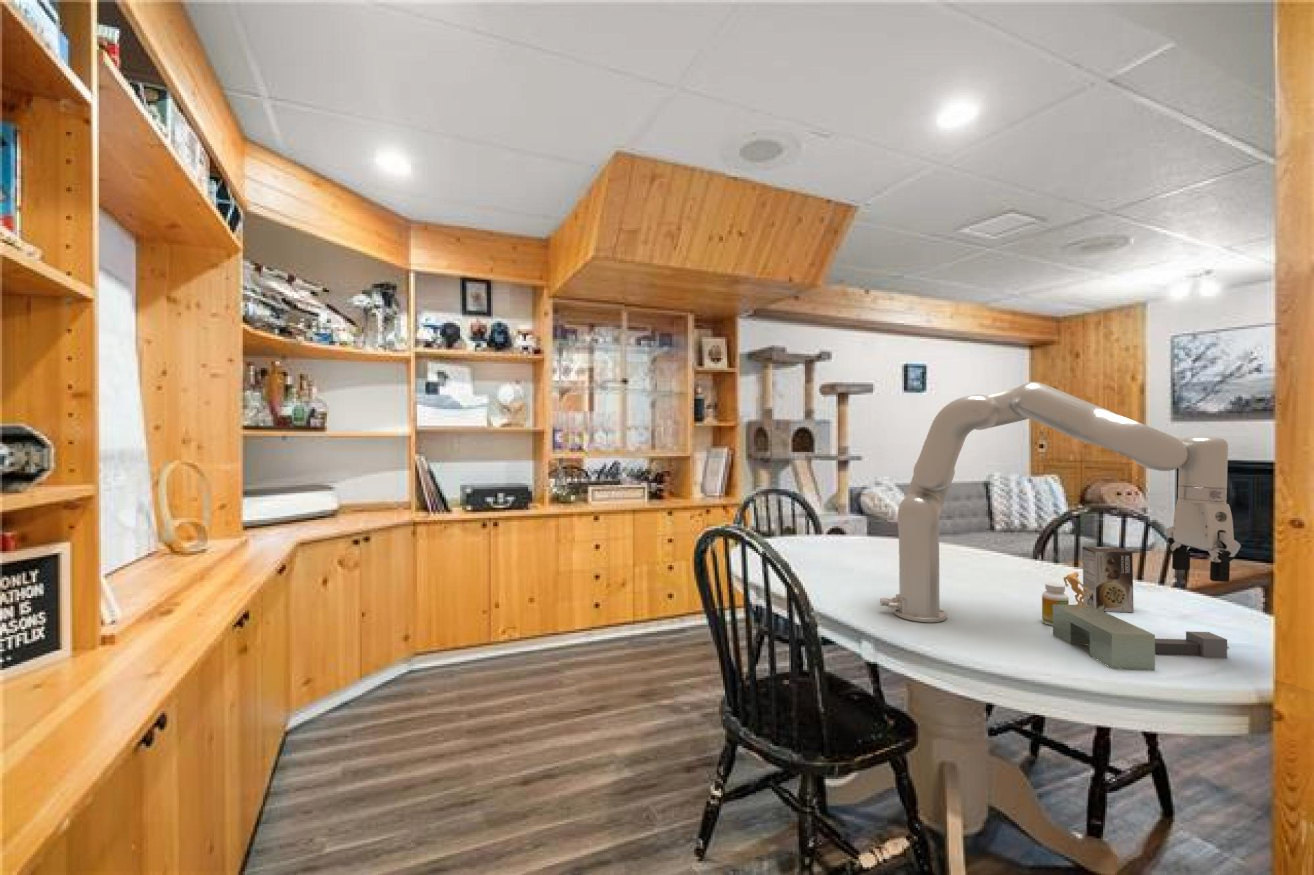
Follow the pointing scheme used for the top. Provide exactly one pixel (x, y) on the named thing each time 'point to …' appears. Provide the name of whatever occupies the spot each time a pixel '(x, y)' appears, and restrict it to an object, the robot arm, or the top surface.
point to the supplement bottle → (1052, 600)
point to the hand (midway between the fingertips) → (1199, 575)
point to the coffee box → (1108, 578)
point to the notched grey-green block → (1105, 636)
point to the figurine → (1076, 586)
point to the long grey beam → (1193, 645)
